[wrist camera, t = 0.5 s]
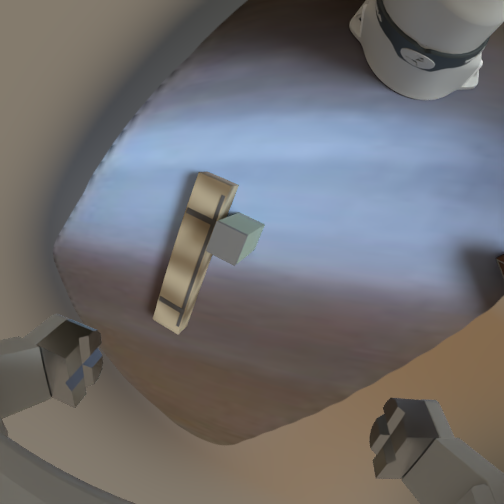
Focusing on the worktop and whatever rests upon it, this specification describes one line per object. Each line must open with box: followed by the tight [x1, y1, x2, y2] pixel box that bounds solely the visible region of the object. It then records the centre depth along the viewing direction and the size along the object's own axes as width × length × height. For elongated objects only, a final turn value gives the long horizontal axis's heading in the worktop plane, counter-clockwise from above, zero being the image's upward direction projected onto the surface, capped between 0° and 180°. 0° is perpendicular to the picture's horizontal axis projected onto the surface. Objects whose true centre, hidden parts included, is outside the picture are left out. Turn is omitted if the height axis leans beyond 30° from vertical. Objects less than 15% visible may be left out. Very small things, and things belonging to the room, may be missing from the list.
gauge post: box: [206, 212, 265, 266], centre depth 42 cm, size 4×4×8 cm
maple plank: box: [153, 172, 239, 334], centre depth 48 cm, size 25×5×3 cm, turn 158°
